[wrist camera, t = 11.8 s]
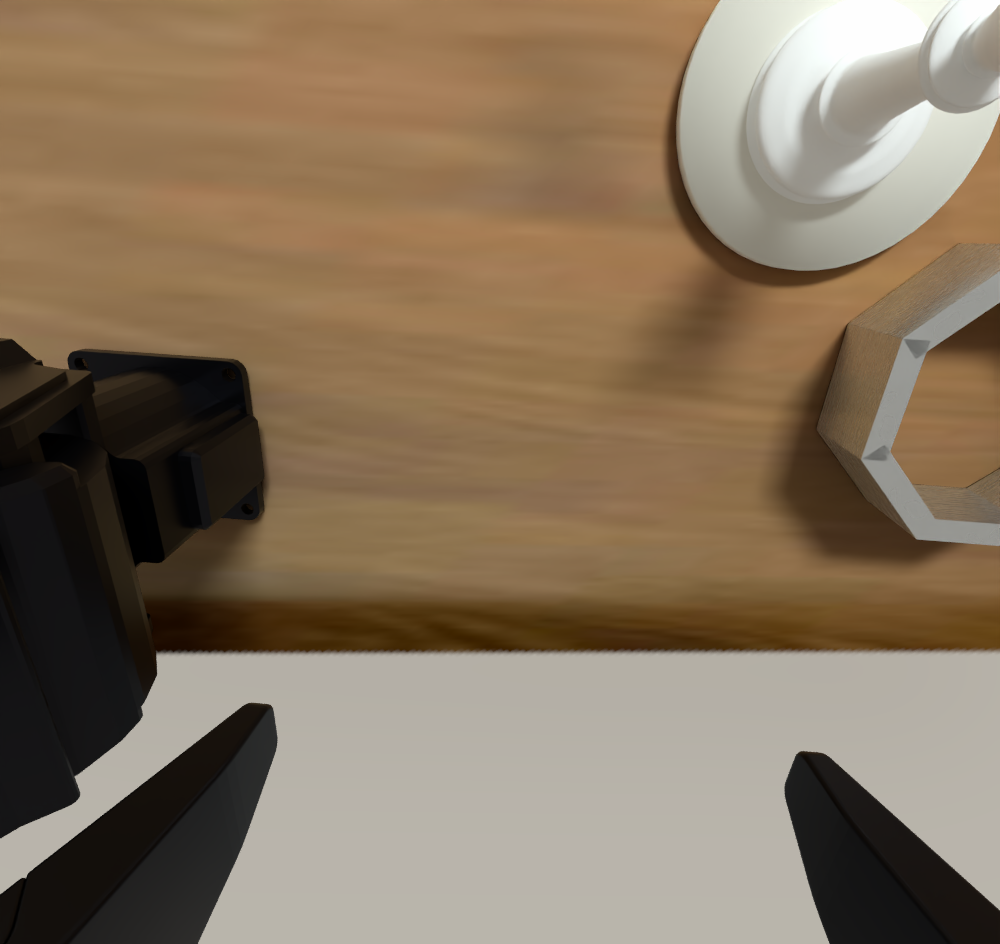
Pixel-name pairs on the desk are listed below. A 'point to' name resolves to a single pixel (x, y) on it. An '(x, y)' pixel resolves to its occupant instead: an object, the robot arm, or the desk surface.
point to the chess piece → (865, 92)
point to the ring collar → (888, 386)
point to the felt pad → (755, 205)
